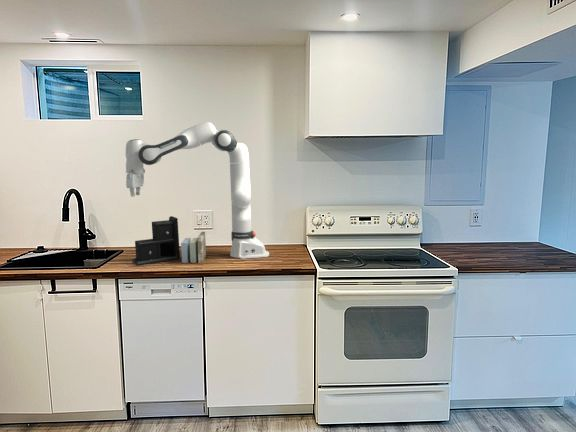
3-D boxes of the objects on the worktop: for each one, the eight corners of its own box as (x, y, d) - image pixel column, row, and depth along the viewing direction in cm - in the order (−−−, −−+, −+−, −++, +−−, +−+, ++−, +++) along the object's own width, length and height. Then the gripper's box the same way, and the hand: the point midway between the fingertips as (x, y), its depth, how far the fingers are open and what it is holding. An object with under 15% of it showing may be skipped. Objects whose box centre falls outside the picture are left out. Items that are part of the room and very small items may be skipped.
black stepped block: (136, 266, 214) (134, 221, 211) (132, 262, 223) (129, 219, 220) (180, 260, 226) (178, 218, 223) (174, 256, 235) (172, 216, 232)
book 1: (191, 257, 233) (190, 238, 232) (187, 262, 219) (186, 242, 218) (186, 257, 233) (185, 238, 232) (182, 263, 219) (181, 242, 218)
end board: (206, 255, 236) (205, 231, 234) (202, 263, 218) (201, 237, 216) (202, 255, 236) (201, 231, 234) (198, 263, 218) (197, 237, 216)
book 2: (199, 256, 234) (198, 237, 232) (196, 262, 220) (195, 242, 218) (194, 256, 233) (193, 237, 232) (190, 262, 219) (189, 242, 218)
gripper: (135, 170, 209) (135, 197, 210) (145, 169, 229) (146, 194, 231) (122, 170, 208) (123, 197, 210) (134, 169, 228) (134, 194, 230)
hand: (135, 195), depth 220 cm, fingers open, 8 cm apart
